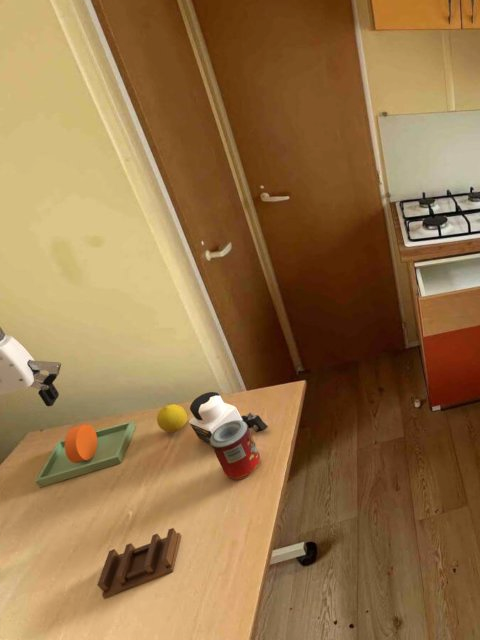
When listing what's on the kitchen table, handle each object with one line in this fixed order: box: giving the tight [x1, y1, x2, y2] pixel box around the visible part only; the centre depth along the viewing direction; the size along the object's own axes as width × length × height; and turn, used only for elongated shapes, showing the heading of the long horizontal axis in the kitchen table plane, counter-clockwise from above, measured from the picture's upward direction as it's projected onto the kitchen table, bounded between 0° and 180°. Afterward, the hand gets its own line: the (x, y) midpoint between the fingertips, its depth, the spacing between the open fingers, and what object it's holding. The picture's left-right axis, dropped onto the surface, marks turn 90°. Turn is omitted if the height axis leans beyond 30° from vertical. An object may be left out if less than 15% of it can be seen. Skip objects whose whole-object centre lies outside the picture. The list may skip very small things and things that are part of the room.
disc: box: [64, 423, 97, 463], centre depth 96 cm, size 2×8×8 cm, turn 25°
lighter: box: [240, 412, 269, 433], centre depth 104 cm, size 8×2×5 cm
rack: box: [96, 527, 182, 599], centre depth 77 cm, size 10×7×4 cm
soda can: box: [209, 420, 261, 480], centre depth 93 cm, size 7×7×12 cm
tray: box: [34, 420, 136, 488], centre depth 98 cm, size 14×11×2 cm
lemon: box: [156, 403, 188, 433], centre depth 103 cm, size 6×6×8 cm
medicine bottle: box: [188, 391, 242, 446], centre depth 101 cm, size 7×7×12 cm
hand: (20, 409), depth 83 cm, fingers open, 9 cm apart
